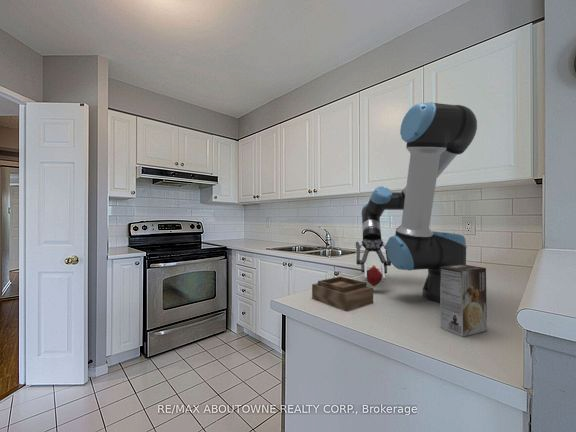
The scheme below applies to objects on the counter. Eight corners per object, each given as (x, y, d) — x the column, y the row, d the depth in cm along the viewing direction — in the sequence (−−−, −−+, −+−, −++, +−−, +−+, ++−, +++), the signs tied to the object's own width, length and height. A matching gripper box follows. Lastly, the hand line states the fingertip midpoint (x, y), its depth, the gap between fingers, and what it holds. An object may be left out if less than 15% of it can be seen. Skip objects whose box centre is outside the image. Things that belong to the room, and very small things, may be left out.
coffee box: (462, 322, 75) (462, 263, 75) (487, 331, 70) (487, 267, 70) (439, 327, 72) (439, 266, 72) (463, 337, 66) (463, 270, 66)
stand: (373, 303, 92) (373, 283, 92) (346, 311, 84) (346, 289, 84) (337, 292, 105) (337, 275, 105) (312, 298, 97) (312, 280, 97)
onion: (382, 288, 102) (382, 266, 102) (366, 287, 103) (366, 266, 103) (380, 284, 108) (380, 264, 108) (365, 284, 109) (365, 263, 109)
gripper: (393, 238, 118) (400, 286, 102) (349, 238, 123) (349, 283, 107) (395, 226, 113) (402, 274, 97) (349, 226, 118) (348, 272, 102)
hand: (374, 279), depth 102 cm, fingers closed on onion, 6 cm apart
